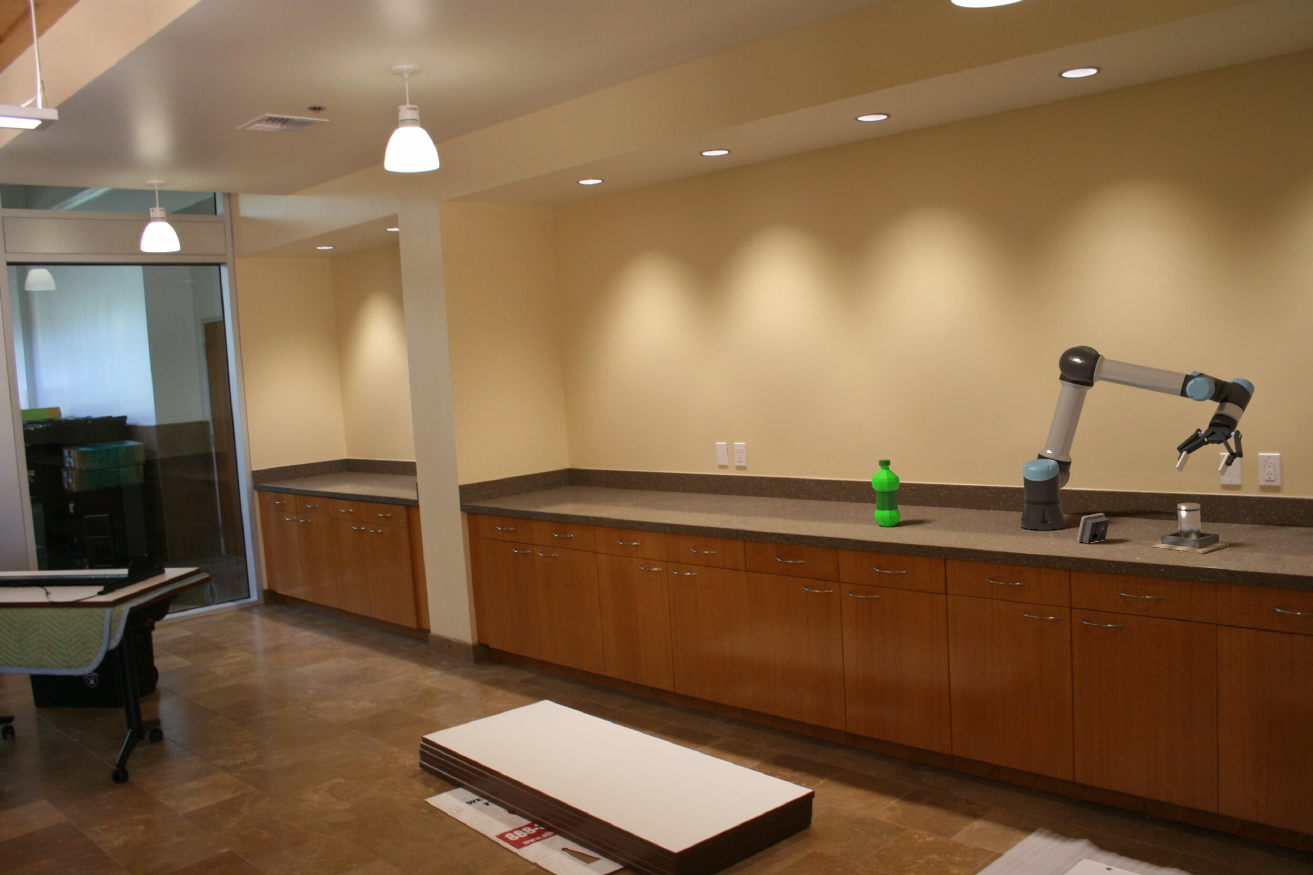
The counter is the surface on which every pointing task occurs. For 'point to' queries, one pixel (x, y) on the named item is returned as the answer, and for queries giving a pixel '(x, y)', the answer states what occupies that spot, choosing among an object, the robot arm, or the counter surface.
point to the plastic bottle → (886, 495)
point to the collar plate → (1190, 542)
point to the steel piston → (1189, 520)
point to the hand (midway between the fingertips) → (1199, 471)
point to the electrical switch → (1093, 528)
